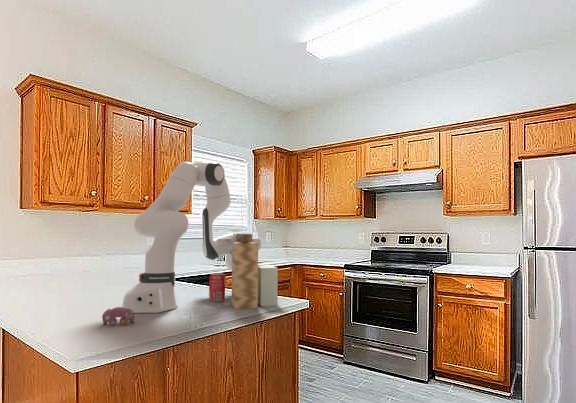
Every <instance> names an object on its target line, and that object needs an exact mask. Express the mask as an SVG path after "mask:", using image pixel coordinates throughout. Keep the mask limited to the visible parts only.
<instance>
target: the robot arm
mask: <svg viewBox="0 0 576 403" xmlns="http://www.w3.org/2000/svg"><path fill="white" fill-rule="evenodd" d="M195 186H197V187H198V186H201V187H204V188H205V194H206V205H205V207H204V208H203V210H202V214H201V215H202V221H201V222H202V253H203V255H204V257H205V258H206V259H208V260H212V261H215V260H216V259H219V258H221V257H224V256H226V257H225V266H226V268H227V270H229V271H232V246H233V242H238V241H236V240H237V235H236V233H233V232H230V233H226V234H223V235H221V236H218V237H214V236H213V224H214V222H215V220H216V219H217V218H218V217H219V216H221V215H222V214H223V213H225V212H226V211H227V210H228V208H229V207H230V205H231V194H230V189H229V186H228V182H227V180H226V178H225V169H224V167H223V165H221V163H219V162H215V161H195V162H189V161H182V162H179V163H178V165H177V166H176V167H175V169H174V170H173V171H172V172H171V174H170V175H169V177H168V179H167V181H166V183H165V185H164V187H163V188H162V190H161V192H160V193H159V195H158V196H157V197H156V199H155V200H154V201H153V202H152V203H151V204H150V205H149V207H148V208H147V209H145V210H144V211H142V212H141V213H139V214H138V215H137V216H136V218H135V221H134V229H135V231H136V233H137V234H139V235H140V236H143V237H147V238H154V239H153V242H152V245H151V246H150V248H149V249H148V250H146V253H145V261H144V262H145V263H144V272H140V273H139V275H138V277H139V279H138V281H139V282H138V283H137V284H135V285H134V286H133V287H132V288H131V289H129V290H128V291H127V292H126V293H125V294H124V297H123V299H122V304H121V305H118V306H117V307H122V308H126V309H127V308H130V309H131V310H132V311H133V312H134V314H143V313H144V314H145V313H147V314H151V313H154V314H155V313H162V312H165V311H172V310H175V309H177V308H178V305H177V301H176V294H175V284H176V272H175V255H176V249H177V247H178V244H179V242H180V240H181V238H182V237H183V236H184V235H185V233H187V231H188V228H189V219H188V217H187V215H186V214H185V213H184V212H181V211H180V210H181V209H183V208H184V207H185V206H186V204H187V203H188V201H189V199H190V196H191V194H192V192H193V190H194V187H195ZM213 237H214V238H213ZM252 242H254V243H258V252H259V251H260V250H261V247H262V240H261V239H260V238H252Z"/></svg>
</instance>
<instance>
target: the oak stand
mask: <svg viewBox="0 0 576 403" xmlns="http://www.w3.org/2000/svg"><path fill="white" fill-rule="evenodd" d="M258 265H259V251H258V243H254V242H252V243H243V242H233V246H232V270H231V305H232V307H233V308H234V309H235V310H238V309H239V310H240V309H241V310H242V309H257V308H258V306H259V304H258Z"/></svg>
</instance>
